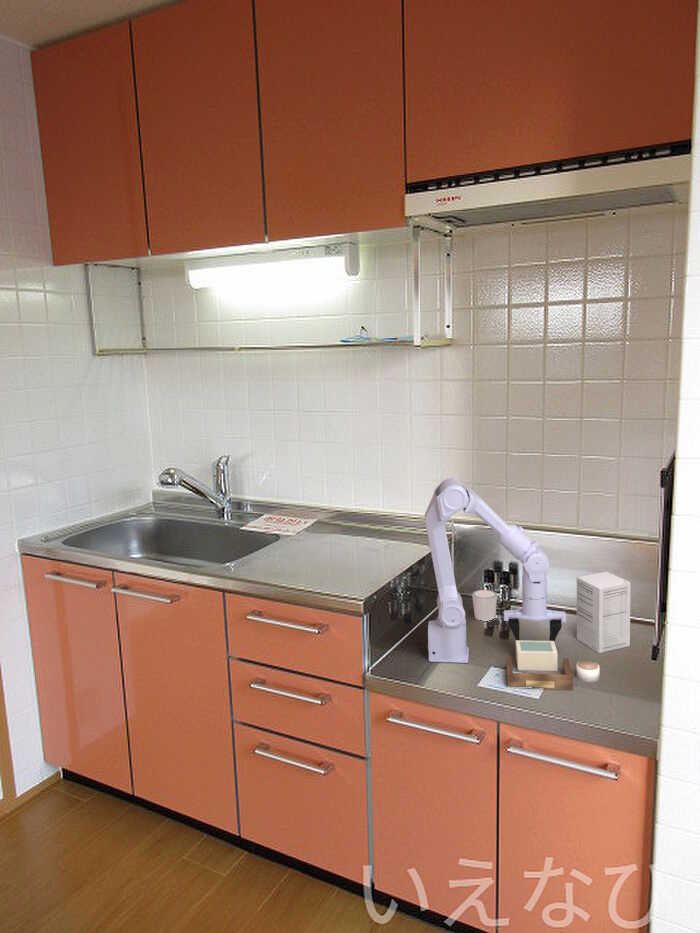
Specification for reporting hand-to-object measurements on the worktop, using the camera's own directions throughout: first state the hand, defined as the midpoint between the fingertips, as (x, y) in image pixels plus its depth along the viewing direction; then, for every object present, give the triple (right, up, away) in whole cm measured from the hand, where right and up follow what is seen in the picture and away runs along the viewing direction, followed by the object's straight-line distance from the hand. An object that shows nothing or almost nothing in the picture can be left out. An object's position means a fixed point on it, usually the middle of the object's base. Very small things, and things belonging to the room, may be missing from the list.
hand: (534, 647), depth 169 cm
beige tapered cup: (-8, +2, +23) cm, 25 cm away
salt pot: (+9, -4, -12) cm, 15 cm away
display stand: (-2, -4, -12) cm, 13 cm away
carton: (-1, -3, -5) cm, 5 cm away
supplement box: (+18, 0, +4) cm, 19 cm away
